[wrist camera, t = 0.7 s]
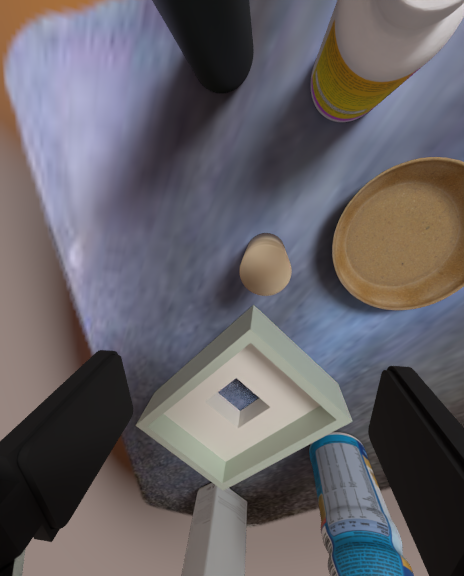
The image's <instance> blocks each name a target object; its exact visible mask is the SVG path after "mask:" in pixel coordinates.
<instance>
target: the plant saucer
mask: <svg viewBox="0 0 464 576" xmlns="http://www.w3.org/2000/svg"><path fill="white" fill-rule="evenodd" d="M332 258H333V263H334V267H335V270H336V274H337V276H338V278H339V280H340V281H341V283H342V284H343V286H344V287H345V288H346V289H347V290H348V291H349V292H350V293H351V294H352V295H353V296H354V297H356V298H357V299H359V300H360V301H362V302H364V303H366V304H368V305H370V306H373V307H377V308H381V309H386V310H409V309H416V308H421V307H425V306H428V305H431V304H434V303H436V302H438V301H441V300H443V299H445V298H447V297H448V296H450V295H452V294H453V293H455V292H457V291H458V290H460V289H461V288H462V287H463V286H464V162H462V161H459V160H455V159H450V158H441V157H428V158H420V159H415V160H411V161H407V162H405V163H402V164H399V165H396V166H394V167H392V168H390V169H388V170H386V171H384V172H382V173H381V174H379V175H378V176H376V177H375V178H373V179H372V180H371V181H369V182H368V183H367V184H366V185H365V186H364V187H362V188H361V189H360V190H359V191H358V193H357V194H356V195H355V196H354V197H353V198H352V199H351V201H350V202H349V203H348V205H347V206H346V208H345V209H344V211H343V213H342V215H341V217H340V219H339V221H338V224H337V226H336V229H335V233H334V237H333V244H332Z"/></svg>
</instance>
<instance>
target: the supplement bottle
mask: <svg viewBox="0 0 464 576" xmlns="http://www.w3.org/2000/svg"><path fill="white" fill-rule="evenodd" d="M463 17H464V0H337V3H336V6H335V9H334V12H333V14H332V17H331V20H330V23H329V25H328V28H327V31H326V34H325V36H324V39H323V42H322V45H321V47H320V50H319V53H318V55H317V58H316V61H315V64H314V67H313V71H312V75H311V95H312V99H313V102H314V104H315V106H316V108H317V109H318V111H319V112H320V113H321V114H322V115H323V116H324V117H326V118H327V119H329V120H332V121H335V122H349V121H353V120H356V119H358V118H360V117H362V116H364V115H365V114H367V113H368V112H369V111H371V110H372V109H373V108H374V107H375V106H377V105H378V104H379V103H380V102H381V101H382V100H384V99H385V98H386V97H387V96H388V95H389V94H391V93H392V92H393V91H394V90H395V89H396V88H398V87H399V86H400V85H401V84H402V83H403V82H405V81H406V80H407V79H408V78H409V77H410V76H412V75H413V74H414V73H415V72H416V71H418V70H419V69H420V68H421V67H422V66H423V65H425V64H426V63H427V62H428V61H429V60H430V59H431V58H433V57H434V56H435V55H436V54H437V53H438V52H439V51H440V50H441V49H442V47H443V46H444V45H445V44H446V43H447V41H448V40H449V39H450V37H451V36H452V35H453V33H454V32H455V30H456V29H457V27H458V26H459V24H460V22H461V20H462V19H463Z"/></svg>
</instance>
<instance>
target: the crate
mask: <svg viewBox="0 0 464 576" xmlns="http://www.w3.org/2000/svg"><path fill="white" fill-rule="evenodd" d="M236 378H237V379H238V380H239V381H240V382H242V383H243V384H244V385H245V386H246V387H247V388H249V389H250V390H251V391H252V392H253V393H254V394H256V395H257V396H258V397H259V399H257V400H256V401H254V402H253V403H251V404H250V405H248V406H247V407H245V408H244V409H242V410H241V411H239V410H238V409H237V408H236V407H235V406H233V405H232V404H231V403H230V402H229V401H227V400H226V399H225V398H224V397H223V396H221V395H220V394H219V393H218V392H219V391H220V390H221V389H222V388H224V387H225V386H226V385H228V384H229V383H230V382H232V381H233V380H234V379H236ZM350 422H352V419H351V416H350V414H349V411H348V408H347V406H346V403H345V401H344V398H343V395H342V393H341V390H340V388H339V385H338V383H337V382H336V381H335V380H334V379H333V378H332V377H330V376H329V375H328V374H327V373H326V372H325V371H324V370H323V369H322V368H321V367H320V366H319V365H318V364H316V363H315V362H314V361H313V360H312V359H311V358H310V357H309V356H308V355H307V354H306V353H305V352H304V351H303V350H301V349H300V348H299V347H298V346H297V345H296V344H295V343H294V342H293V341H292V340H291V339H290V338H289V337H288V336H286V335H285V334H284V333H283V332H282V331H281V330H280V329H279V328H278V327H277V326H276V325H275V324H274V323H272V322H271V321H270V320H269V319H268V318H267V317H266V316H265V315H264V314H263V313H262V312H261V311H260V310H259V309H257V308H256V307H255V306H254V305H253V306H252V307H251V308H249V309H248V310H247V311H246V312H245V313H244V314H243V315H241V316H240V317H239V318H238V319H237V320H236V321H235V322H234V323H232V324H231V325H230V326H229V327H228V328H227V329H226V330H225V331H223V332H222V333H221V334H220V335H219V336H218V337H217V338H215V339H214V340H213V341H212V342H211V343H210V344H209V345H208V346H206V347H205V348H204V349H203V350H202V351H201V352H200V353H199V354H197V355H196V356H195V357H194V358H193V359H192V360H191V361H189V362H188V363H187V364H186V365H185V366H184V367H183V368H182V369H180V370H179V371H178V372H177V373H176V374H175V375H174V376H173V377H171V378H170V379H169V380H168V381H167V382H166V383H165V384H163V385H162V386H161V387H160V388H159V389H158V390H157V391H156V392H155V393H154V394H153V396H152V398H151V400H150V401H149V403H148V405H147V407H146V408H145V410H144V412H143V413H142V415H141V417H140V419H139V420H138V422H137V424H136V426H137V427H138V428H140V429H141V430H142V431H144V432H145V433H146V434H148V435H149V436H150V437H152V438H153V439H154V440H156V441H157V442H158V443H160V444H161V445H162V446H164V447H165V448H166V449H168V450H169V451H170V452H172V453H173V454H174V455H176V456H177V457H178V458H180V459H181V460H182V461H184V462H185V463H187V464H188V465H189V466H191V467H192V468H193V469H195V470H196V471H197V472H199V473H200V474H201V475H203V476H204V477H205V478H207V479H208V480H209V481H211V482H212V483H213V484H215V485H216V486H217V487H219V488H220V489H221V490H225V489H227V488H229V487H231V486H233V485H235V484H236V483H238V482H240V481H242V480H244V479H246V478H248V477H250V476H251V475H253V474H255V473H257V472H259V471H261V470H263V469H264V468H266V467H268V466H270V465H272V464H274V463H276V462H278V461H279V460H281V459H283V458H285V457H287V456H289V455H291V454H292V453H294V452H296V451H298V450H300V449H302V448H304V447H306V446H307V445H309V444H311V443H313V442H315V441H317V440H319V439H321V438H322V437H324V436H326V435H328V434H330V433H332V432H334V431H335V430H337V429H339V428H341V427H343V426H345V425H347V424H349V423H350Z"/></svg>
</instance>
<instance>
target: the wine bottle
mask: <svg viewBox="0 0 464 576" xmlns="http://www.w3.org/2000/svg"><path fill="white" fill-rule="evenodd" d="M152 1H153V3H154V4H155V6H156V8H157V9H158V11H159V13H160V15H161V16H162V18H163V20H164V21H165V23H166V25H167V27H168V28H169V30H170V32H171V33H172V35H173V37H174V39H175V40H176V42H177V44H178V46H179V47H180V49H181V51H182V52H183V54H184V56H185V58H186V59H187V61H188V63H189V64H190V66H191V68H192V70H193V71H194V73H195V75H196V76H197V78H198V80H199V81H200V83H201V84H202V85H203V86H204V87H205V88H207V89H208V90H210V91H212V92H216V93H226V92H230V91H232V90H234V89H235V88H237V87H238V86H239V85H240V84H241V83H242V82H243V81H244V80H245V78H246V77H247V75H248V73H249V71H250V68H251V65H252V60H253V39H252V28H251V17H250V6H249V0H152Z"/></svg>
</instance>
